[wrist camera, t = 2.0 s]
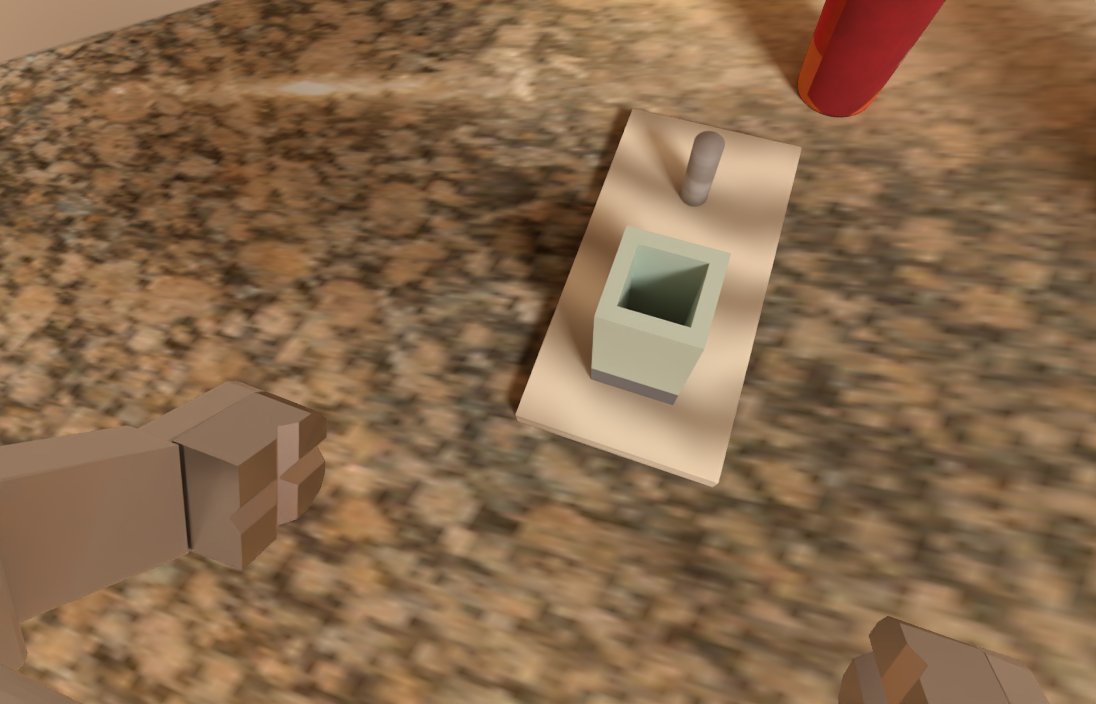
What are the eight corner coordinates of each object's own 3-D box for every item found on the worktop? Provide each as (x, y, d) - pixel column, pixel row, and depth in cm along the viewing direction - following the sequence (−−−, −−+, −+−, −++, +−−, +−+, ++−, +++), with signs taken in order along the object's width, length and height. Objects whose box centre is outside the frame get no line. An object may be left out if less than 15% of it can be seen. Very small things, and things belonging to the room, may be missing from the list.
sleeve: (615, 306, 35) (626, 225, 27) (694, 330, 35) (730, 253, 26) (590, 379, 34) (594, 316, 25) (672, 405, 33) (704, 349, 25)
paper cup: (911, 103, 42) (1061, -109, 29) (823, 144, 41) (936, -56, 28) (845, 35, 44) (955, -187, 31) (761, 72, 44) (838, -141, 30)
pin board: (631, 123, 42) (639, 49, 36) (794, 161, 40) (831, 90, 34) (517, 421, 35) (504, 389, 29) (712, 487, 33) (742, 468, 27)
